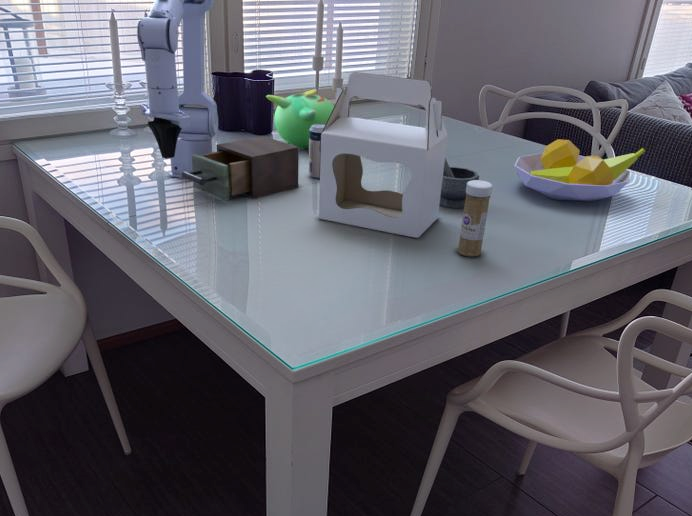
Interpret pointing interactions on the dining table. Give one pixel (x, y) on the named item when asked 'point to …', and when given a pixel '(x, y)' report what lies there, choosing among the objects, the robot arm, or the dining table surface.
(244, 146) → the cabinet
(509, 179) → the dining table surface
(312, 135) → the spice jar
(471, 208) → the sprinkles bottle
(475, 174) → the mortar and pestle
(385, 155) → the gable box
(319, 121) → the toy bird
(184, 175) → the green-fronted drawer
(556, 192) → the fruit bowl
